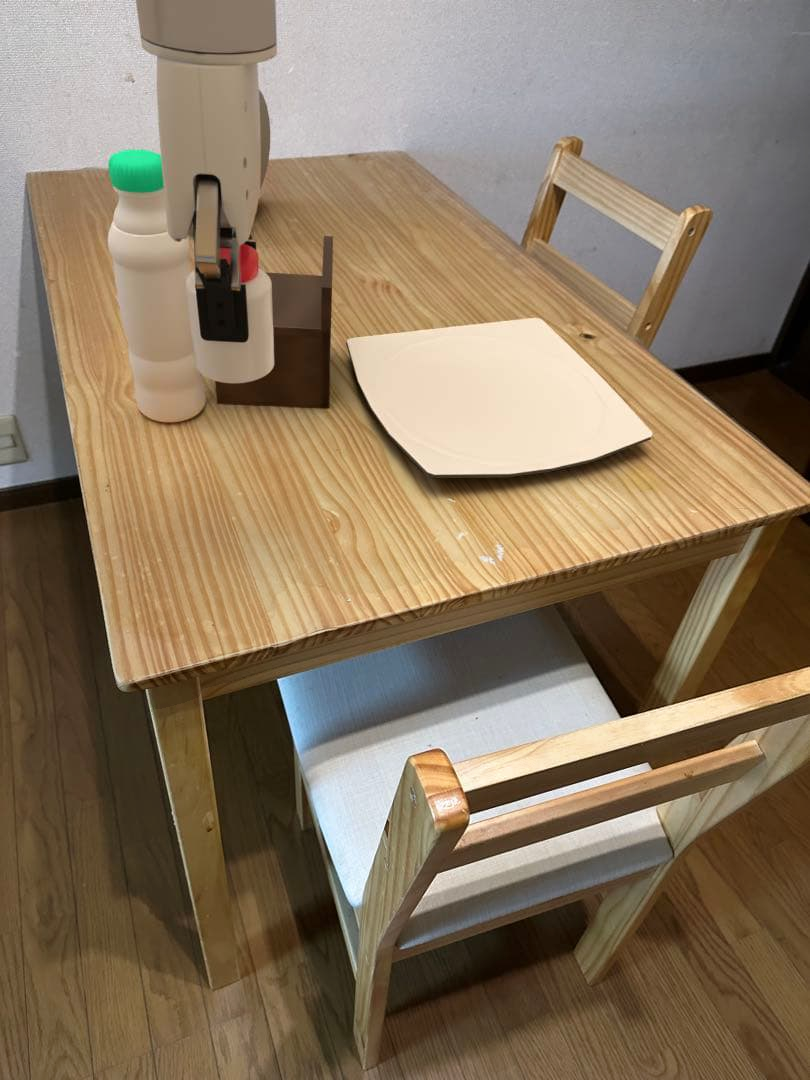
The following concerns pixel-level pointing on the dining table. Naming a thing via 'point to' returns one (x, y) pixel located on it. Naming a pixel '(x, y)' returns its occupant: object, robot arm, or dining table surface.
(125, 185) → the water bottle
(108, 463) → the dining table surface
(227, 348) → the pill bottle
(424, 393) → the plate
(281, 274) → the wooden block chair
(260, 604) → the dining table surface
